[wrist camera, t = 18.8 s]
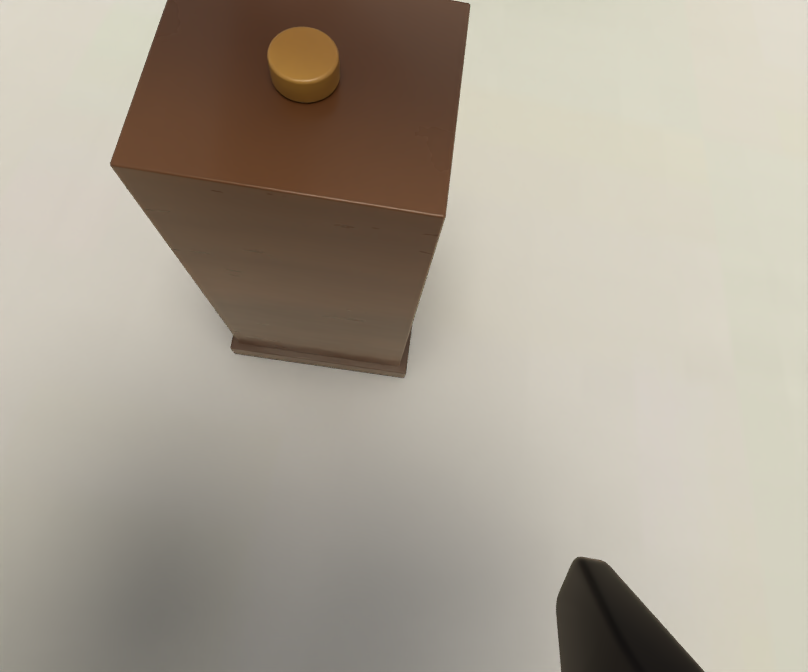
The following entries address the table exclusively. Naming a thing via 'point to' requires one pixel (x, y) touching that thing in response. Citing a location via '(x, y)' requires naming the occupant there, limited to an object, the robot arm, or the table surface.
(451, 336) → the table surface
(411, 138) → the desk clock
